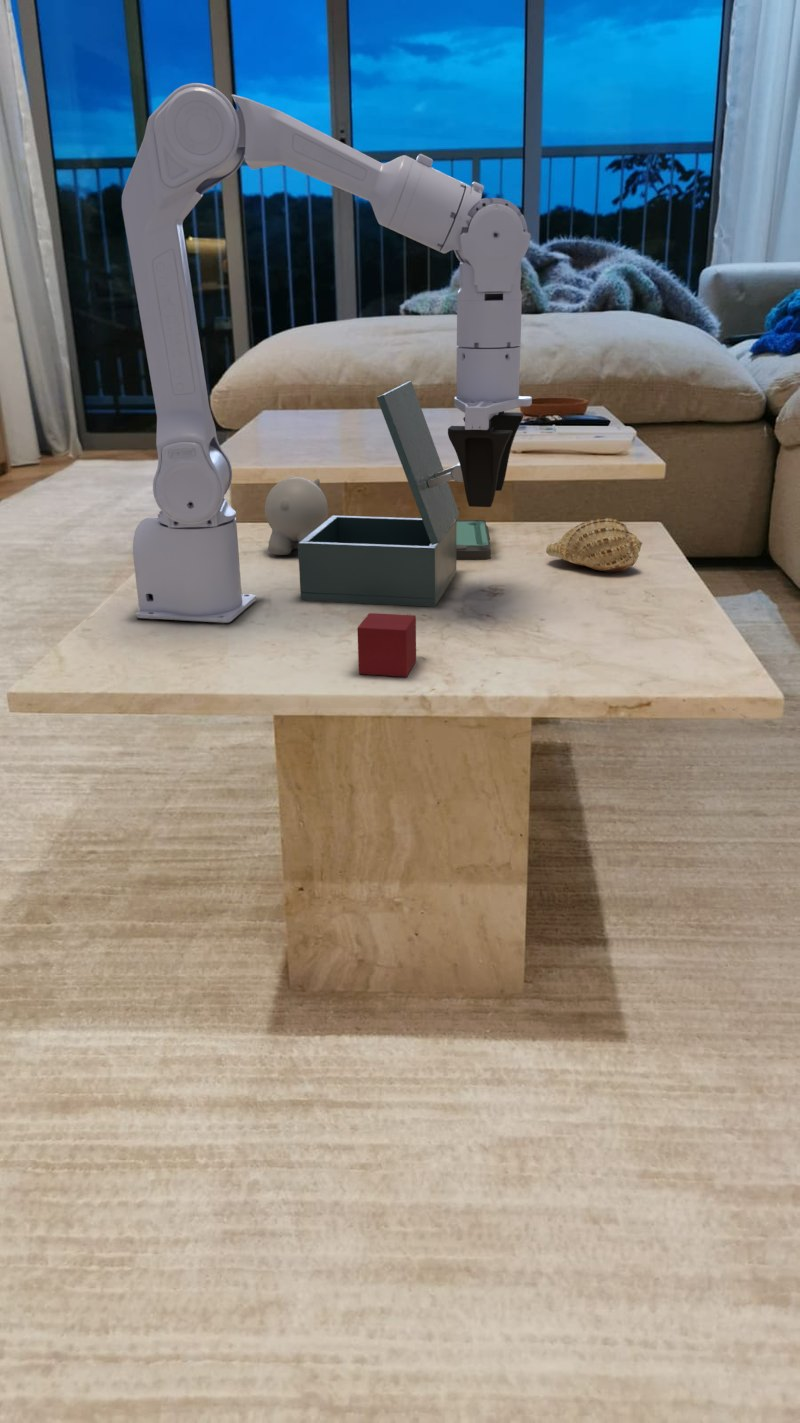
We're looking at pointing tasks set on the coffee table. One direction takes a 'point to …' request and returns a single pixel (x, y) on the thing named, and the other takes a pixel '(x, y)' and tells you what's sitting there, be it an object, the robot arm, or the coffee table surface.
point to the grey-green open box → (376, 562)
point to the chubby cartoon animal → (294, 512)
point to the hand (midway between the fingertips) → (485, 497)
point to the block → (387, 644)
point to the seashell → (598, 545)
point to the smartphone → (472, 540)
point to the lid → (421, 460)
